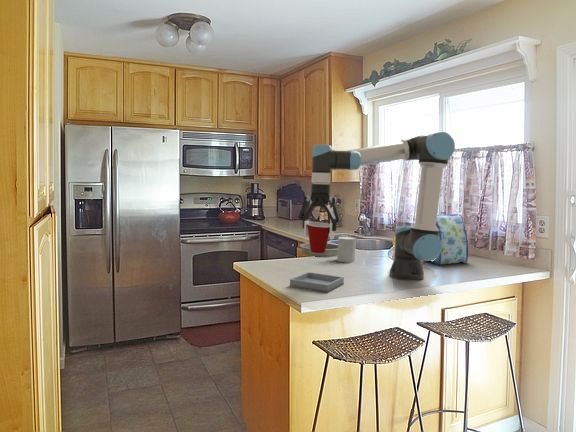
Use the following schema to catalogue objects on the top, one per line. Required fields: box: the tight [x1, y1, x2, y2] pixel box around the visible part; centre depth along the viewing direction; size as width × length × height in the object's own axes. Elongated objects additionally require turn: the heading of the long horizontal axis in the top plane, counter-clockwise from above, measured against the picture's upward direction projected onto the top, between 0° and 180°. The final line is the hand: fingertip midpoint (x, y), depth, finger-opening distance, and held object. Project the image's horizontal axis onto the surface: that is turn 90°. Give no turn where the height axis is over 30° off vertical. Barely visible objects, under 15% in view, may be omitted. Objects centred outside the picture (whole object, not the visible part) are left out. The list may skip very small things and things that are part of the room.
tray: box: [289, 271, 345, 294], centre depth 184 cm, size 17×17×3 cm
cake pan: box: [299, 242, 338, 257], centre depth 261 cm, size 25×25×4 cm
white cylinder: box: [336, 236, 357, 263], centre depth 239 cm, size 10×10×12 cm
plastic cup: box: [306, 221, 330, 253], centre depth 182 cm, size 11×11×12 cm
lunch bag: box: [432, 213, 469, 265], centre depth 242 cm, size 22×17×26 cm
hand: (318, 237), depth 182 cm, fingers closed on plastic cup, 11 cm apart
